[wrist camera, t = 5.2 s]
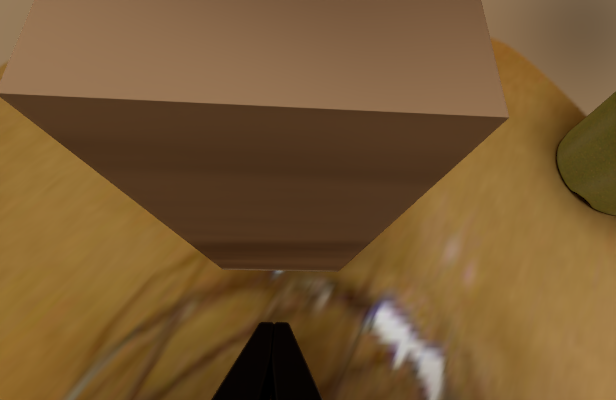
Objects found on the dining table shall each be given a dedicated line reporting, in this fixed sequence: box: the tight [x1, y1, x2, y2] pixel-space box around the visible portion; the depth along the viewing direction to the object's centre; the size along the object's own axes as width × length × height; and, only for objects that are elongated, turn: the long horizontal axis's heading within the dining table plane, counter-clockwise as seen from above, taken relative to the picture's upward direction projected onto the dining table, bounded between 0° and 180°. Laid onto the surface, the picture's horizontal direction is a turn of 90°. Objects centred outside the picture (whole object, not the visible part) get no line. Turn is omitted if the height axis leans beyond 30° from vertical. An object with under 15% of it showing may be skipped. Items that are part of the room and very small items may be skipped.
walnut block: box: [0, 0, 509, 272], centre depth 11 cm, size 6×6×14 cm
